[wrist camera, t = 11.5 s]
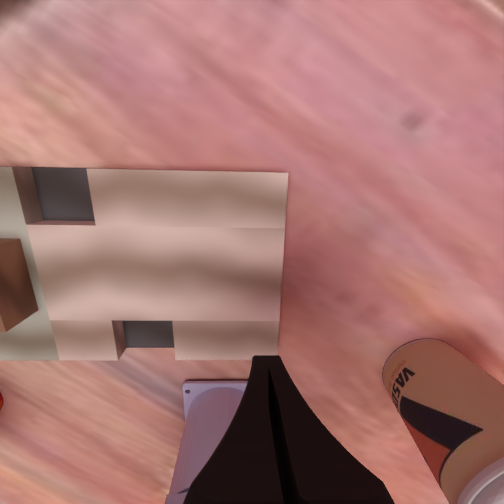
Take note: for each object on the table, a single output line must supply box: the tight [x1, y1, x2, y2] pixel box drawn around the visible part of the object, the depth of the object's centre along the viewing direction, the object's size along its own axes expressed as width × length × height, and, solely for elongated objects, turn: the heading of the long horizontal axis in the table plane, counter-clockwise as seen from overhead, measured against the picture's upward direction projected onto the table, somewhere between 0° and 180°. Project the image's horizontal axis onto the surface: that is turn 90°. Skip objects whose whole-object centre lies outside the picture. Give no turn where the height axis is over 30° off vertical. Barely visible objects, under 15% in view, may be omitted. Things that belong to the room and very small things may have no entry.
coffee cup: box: [383, 339, 504, 504], centre depth 21 cm, size 9×9×12 cm
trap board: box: [0, 166, 288, 360], centre depth 21 cm, size 16×26×2 cm, turn 89°
